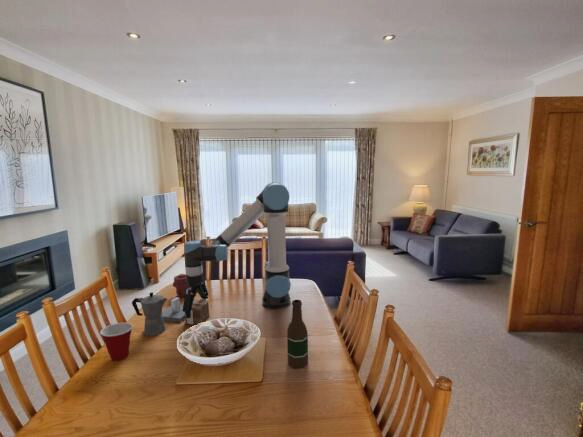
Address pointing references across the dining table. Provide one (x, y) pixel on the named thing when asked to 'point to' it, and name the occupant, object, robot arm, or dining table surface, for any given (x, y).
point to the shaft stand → (174, 311)
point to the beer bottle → (297, 338)
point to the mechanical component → (180, 284)
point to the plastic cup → (117, 340)
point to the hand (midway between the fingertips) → (197, 317)
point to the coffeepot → (151, 313)
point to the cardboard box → (199, 311)
